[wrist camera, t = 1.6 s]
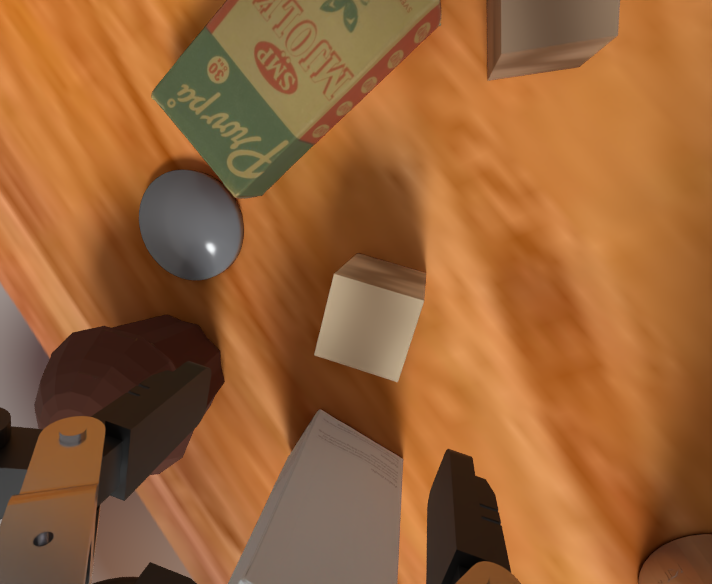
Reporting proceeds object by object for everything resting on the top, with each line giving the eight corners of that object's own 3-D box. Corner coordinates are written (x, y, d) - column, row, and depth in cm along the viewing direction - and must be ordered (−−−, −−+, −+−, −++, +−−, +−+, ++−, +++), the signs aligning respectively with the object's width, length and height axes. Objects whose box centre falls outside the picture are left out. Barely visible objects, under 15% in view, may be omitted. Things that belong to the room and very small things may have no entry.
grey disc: (252, 186, 28) (247, 186, 27) (234, 290, 30) (229, 293, 30) (151, 158, 29) (143, 157, 28) (142, 261, 31) (134, 263, 30)
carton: (442, 28, 24) (445, -4, 20) (260, 200, 29) (232, 203, 25) (356, -92, 23) (340, -151, 19) (184, 106, 28) (141, 94, 24)
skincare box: (289, 454, 33) (183, 650, 19) (322, 402, 31) (231, 578, 17) (373, 507, 33) (329, 745, 19) (412, 458, 31) (394, 682, 17)
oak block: (426, 272, 27) (424, 300, 21) (405, 337, 29) (397, 382, 22) (357, 252, 28) (334, 273, 21) (341, 316, 29) (314, 355, 23)
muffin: (176, 445, 35) (81, 540, 26) (93, 351, 35) (-37, 413, 25) (267, 378, 32) (197, 460, 22) (177, 271, 31) (63, 308, 21)
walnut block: (582, -35, 21) (625, -98, 17) (579, 67, 23) (617, 35, 18) (486, -16, 22) (500, -71, 18) (487, 80, 24) (501, 54, 19)
